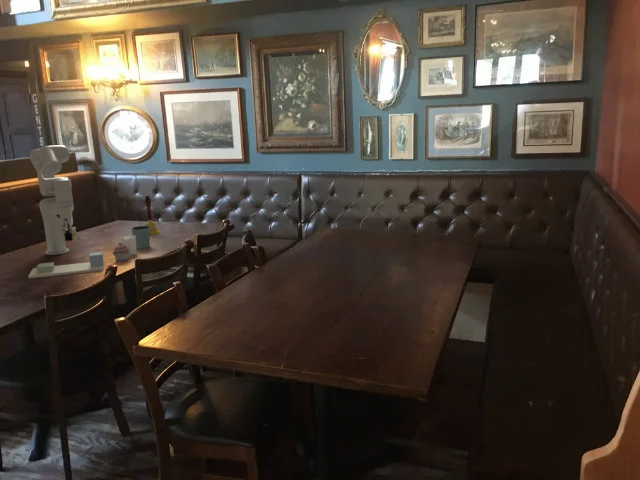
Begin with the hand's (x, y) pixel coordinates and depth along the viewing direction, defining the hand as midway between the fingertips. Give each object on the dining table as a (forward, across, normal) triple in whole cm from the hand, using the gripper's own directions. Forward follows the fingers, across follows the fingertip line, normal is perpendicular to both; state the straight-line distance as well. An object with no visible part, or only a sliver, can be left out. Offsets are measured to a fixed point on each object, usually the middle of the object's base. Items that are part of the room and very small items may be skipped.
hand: (69, 238), depth 270 cm
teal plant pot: (+17, -35, +34) cm, 52 cm away
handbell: (+17, -72, +40) cm, 84 cm away
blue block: (+15, 0, +11) cm, 19 cm away
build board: (+16, 0, -3) cm, 17 cm away
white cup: (+17, -21, +27) cm, 38 cm away
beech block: (+1, 0, 0) cm, 1 cm away
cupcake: (+17, -9, +23) cm, 30 cm away
